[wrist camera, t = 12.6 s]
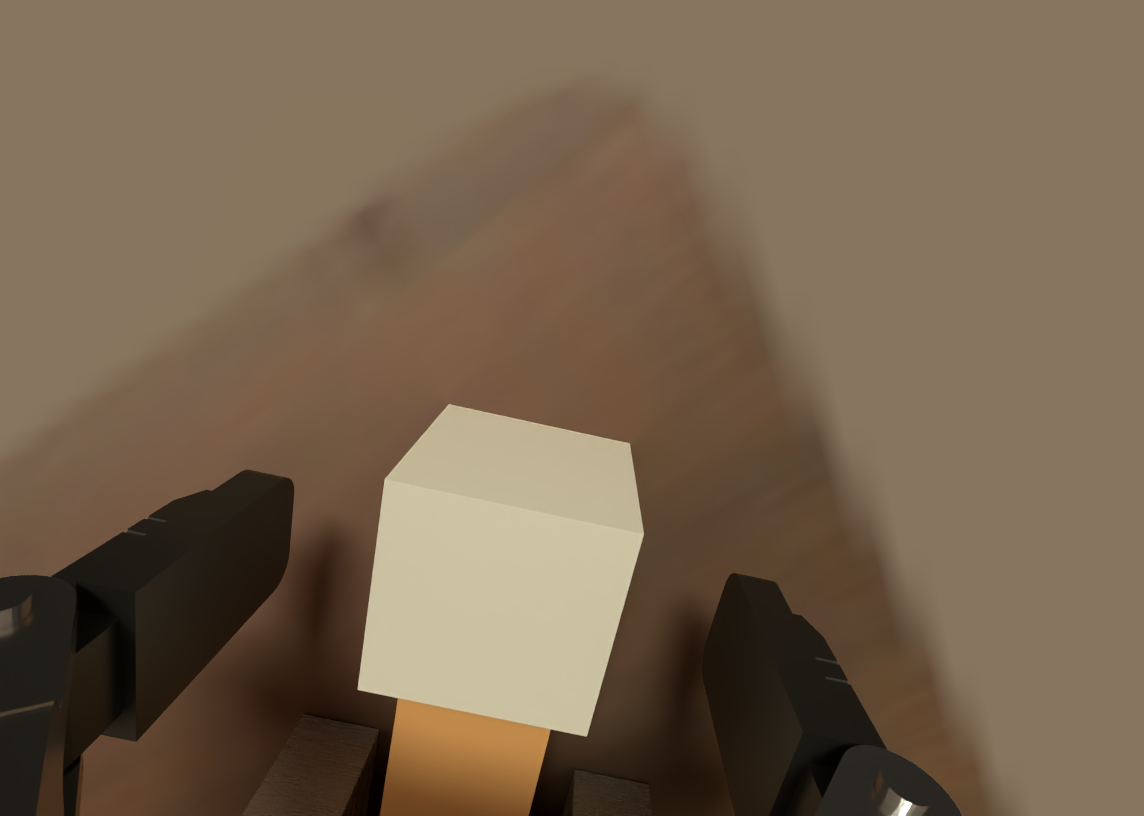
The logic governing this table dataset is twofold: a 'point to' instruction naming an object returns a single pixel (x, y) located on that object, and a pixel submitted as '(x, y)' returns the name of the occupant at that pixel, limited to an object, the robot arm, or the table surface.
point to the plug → (494, 604)
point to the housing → (345, 769)
